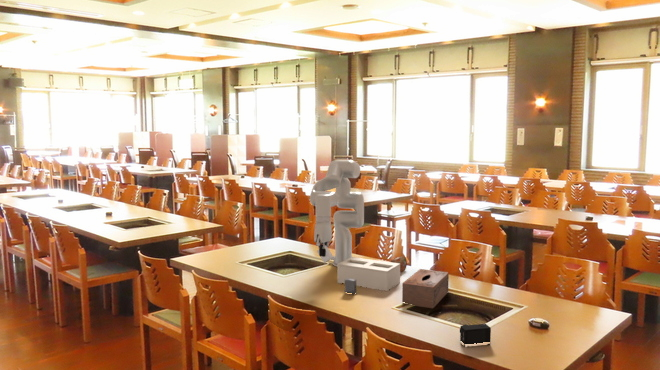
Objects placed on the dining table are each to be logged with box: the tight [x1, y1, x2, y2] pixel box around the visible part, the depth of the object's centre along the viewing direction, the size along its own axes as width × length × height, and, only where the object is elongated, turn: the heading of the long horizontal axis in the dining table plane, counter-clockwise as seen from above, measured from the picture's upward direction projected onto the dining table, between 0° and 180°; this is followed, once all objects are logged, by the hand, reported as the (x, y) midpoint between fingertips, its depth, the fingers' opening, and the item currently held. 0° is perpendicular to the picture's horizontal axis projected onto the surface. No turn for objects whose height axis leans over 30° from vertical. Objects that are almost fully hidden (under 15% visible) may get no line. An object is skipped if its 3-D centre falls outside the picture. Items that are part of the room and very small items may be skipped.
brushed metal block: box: [344, 278, 357, 295], centre depth 270 cm, size 5×2×7 cm, turn 60°
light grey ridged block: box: [316, 245, 334, 264], centre depth 275 cm, size 5×2×7 cm
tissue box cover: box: [401, 268, 450, 309], centre depth 263 cm, size 26×14×10 cm, turn 153°
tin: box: [390, 256, 408, 274], centre depth 305 cm, size 15×3×8 cm, turn 143°
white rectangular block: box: [337, 256, 401, 292], centre depth 287 cm, size 28×16×10 cm, turn 60°
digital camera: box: [459, 323, 492, 344], centre depth 211 cm, size 10×5×7 cm, turn 101°
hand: (323, 255), depth 276 cm, fingers closed on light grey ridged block, 2 cm apart
